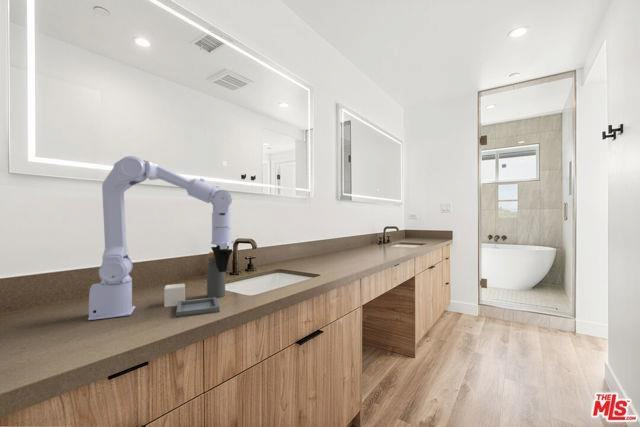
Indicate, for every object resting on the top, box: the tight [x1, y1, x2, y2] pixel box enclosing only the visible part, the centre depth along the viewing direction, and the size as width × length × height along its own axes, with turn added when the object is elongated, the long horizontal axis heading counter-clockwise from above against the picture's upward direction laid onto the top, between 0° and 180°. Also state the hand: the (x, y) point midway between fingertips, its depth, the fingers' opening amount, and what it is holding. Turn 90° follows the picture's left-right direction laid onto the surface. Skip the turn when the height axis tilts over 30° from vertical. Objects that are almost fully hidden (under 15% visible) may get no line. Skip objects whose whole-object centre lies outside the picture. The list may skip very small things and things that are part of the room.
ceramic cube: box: [163, 283, 186, 308], centre depth 90 cm, size 6×6×6 cm
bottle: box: [206, 251, 226, 299], centre depth 99 cm, size 6×6×15 cm
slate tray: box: [175, 297, 220, 318], centre depth 85 cm, size 11×11×1 cm
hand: (221, 269), depth 92 cm, fingers open, 7 cm apart
